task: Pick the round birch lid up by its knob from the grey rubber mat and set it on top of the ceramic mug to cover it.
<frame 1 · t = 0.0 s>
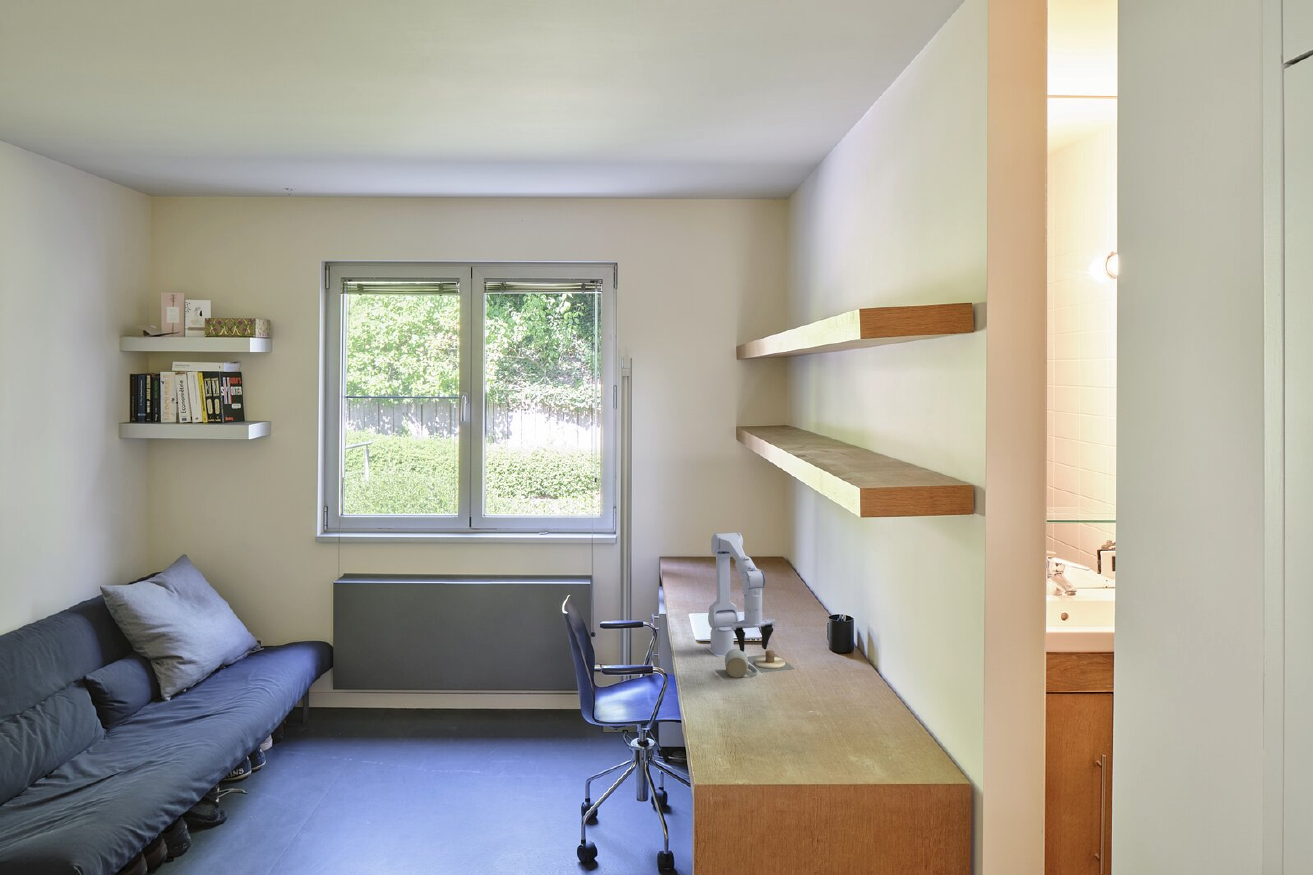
hand: (753, 649, 263), 10 cm above the table, tool pointing down, fingers open, 7 cm apart
lid: (769, 663, 278), resting on mat
mat: (768, 663, 279), on the table
ceramic mug: (740, 675, 269), on the table
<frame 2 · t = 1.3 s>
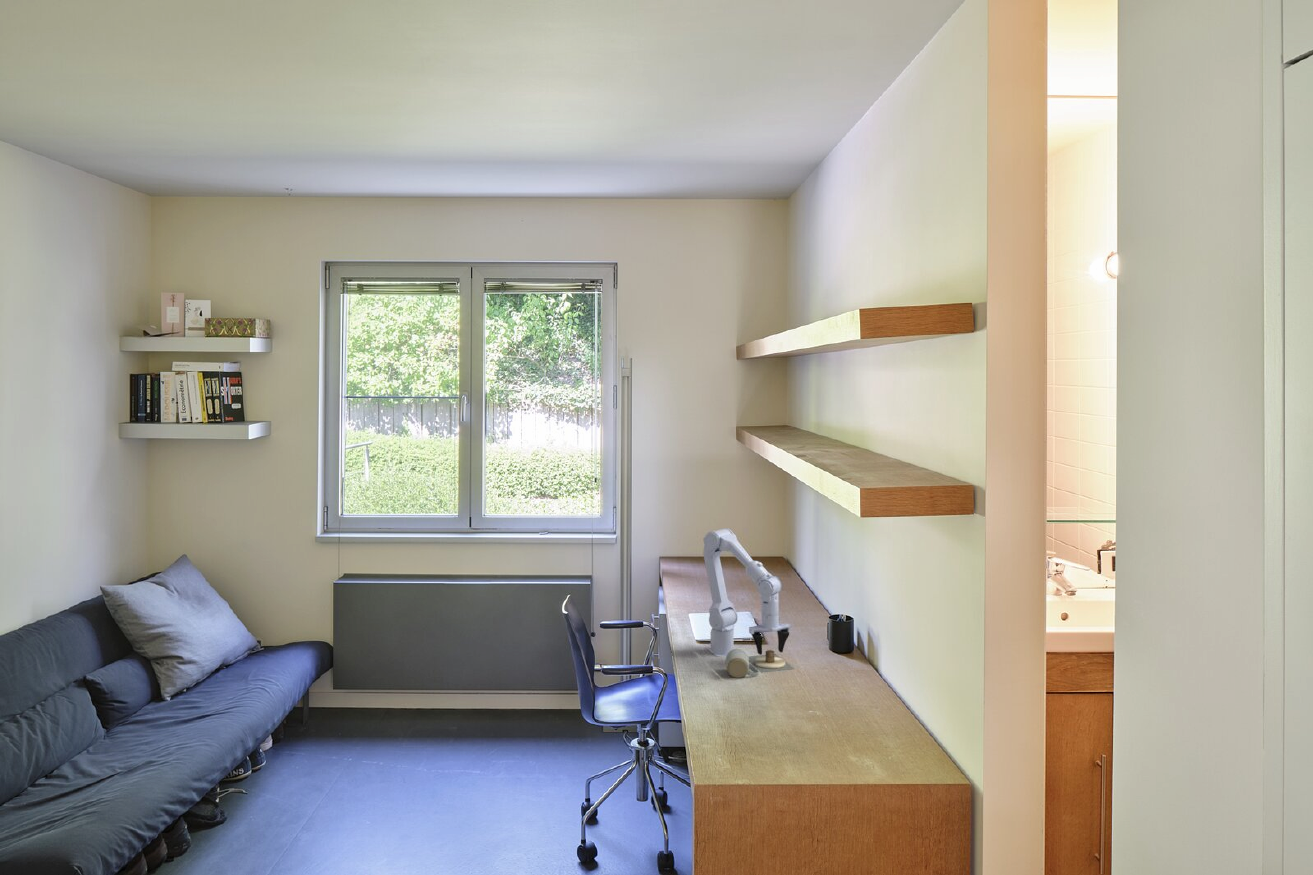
hand: (770, 652, 278), 4 cm above the table, tool pointing down, fingers open, 7 cm apart
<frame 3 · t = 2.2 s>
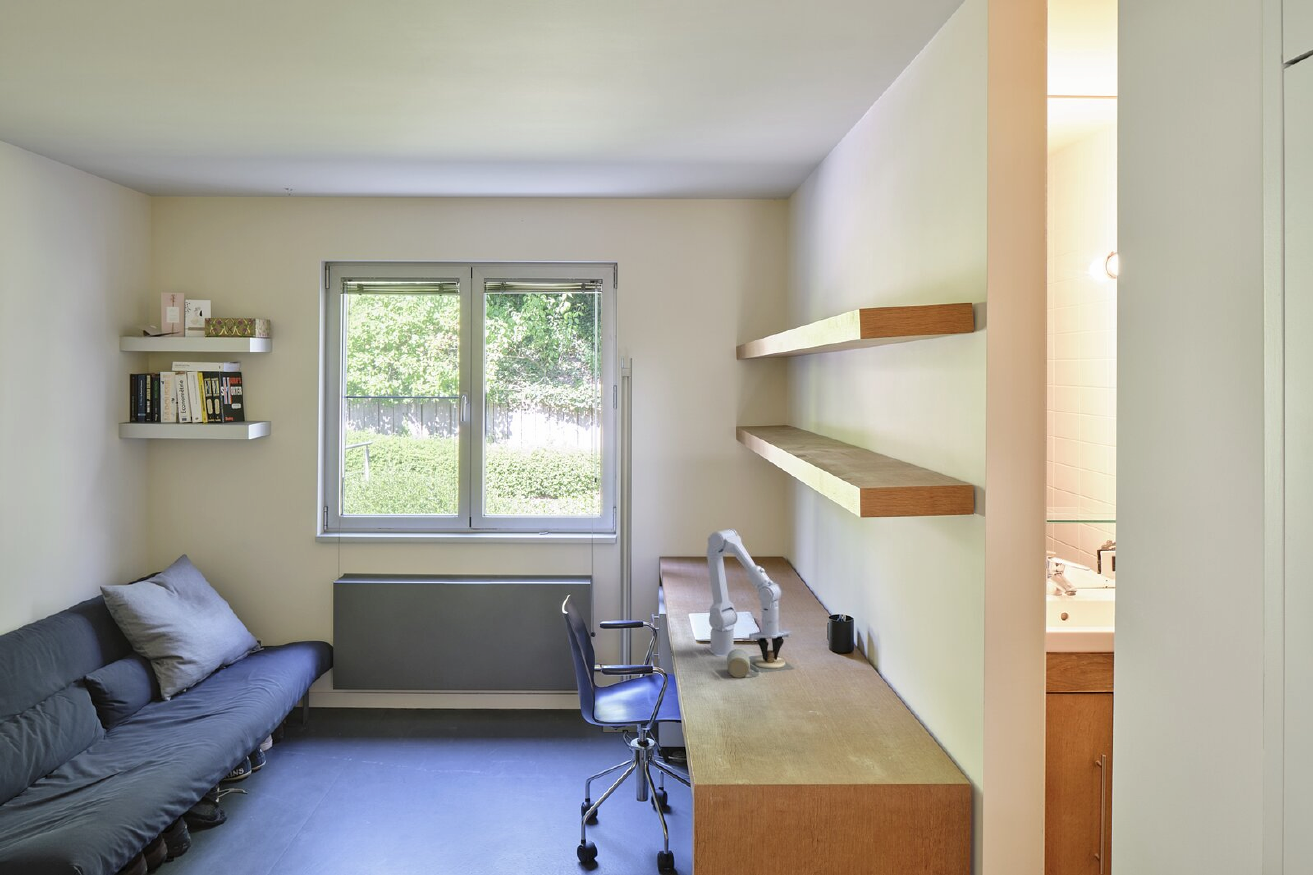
hand: (769, 659, 278), 2 cm above the table, tool pointing down, fingers closed on lid, 3 cm apart
lid: (769, 663, 278), resting on mat, touching gripper
everything else where it was.
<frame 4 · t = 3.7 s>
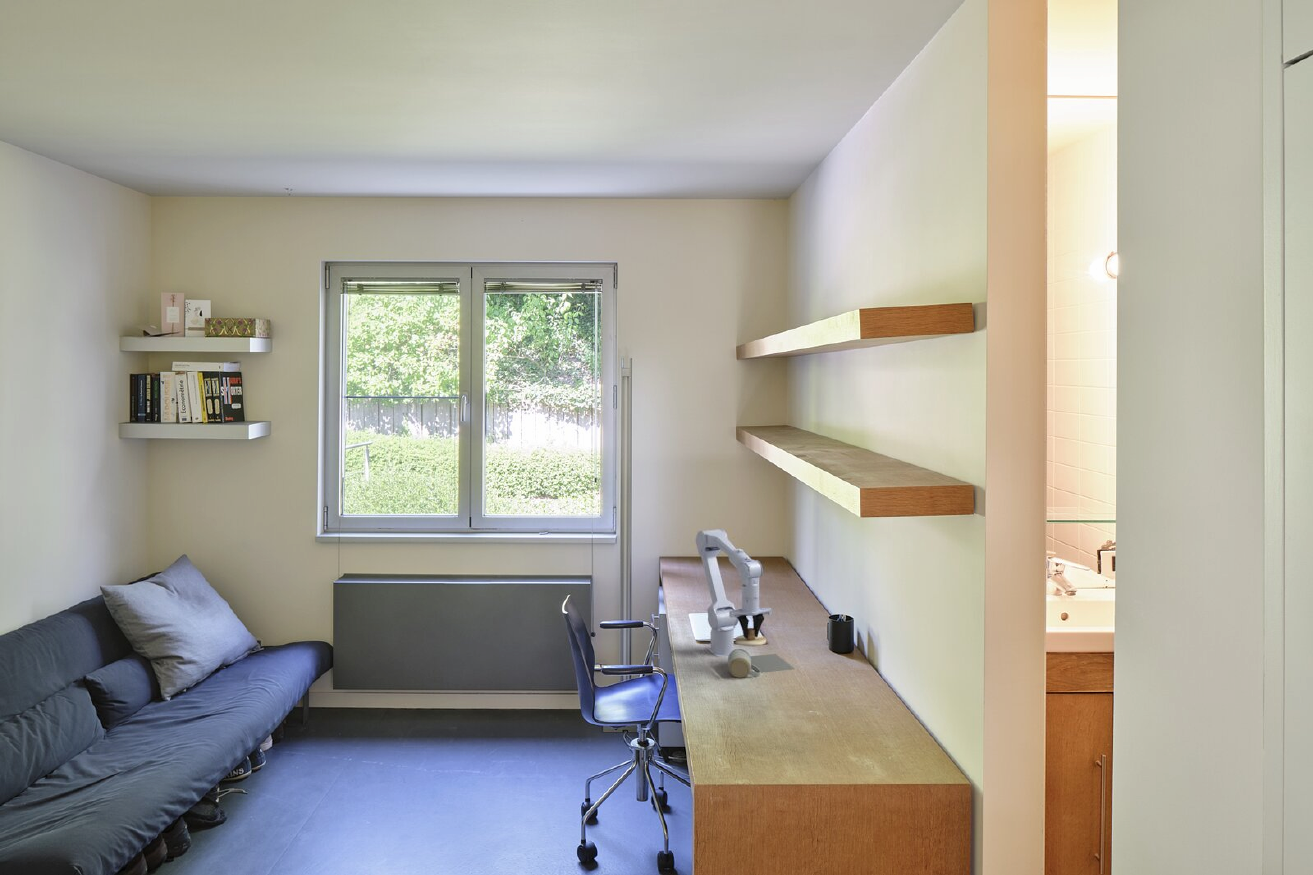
hand: (750, 636, 276), 10 cm above the table, tool pointing down, fingers closed on lid, 3 cm apart
lid: (750, 641, 276), point 9 cm above the table, touching gripper
when the fingers open (10 cm above the table, at t = 5.5 s): lid drops 1 cm, resting on ceramic mug.
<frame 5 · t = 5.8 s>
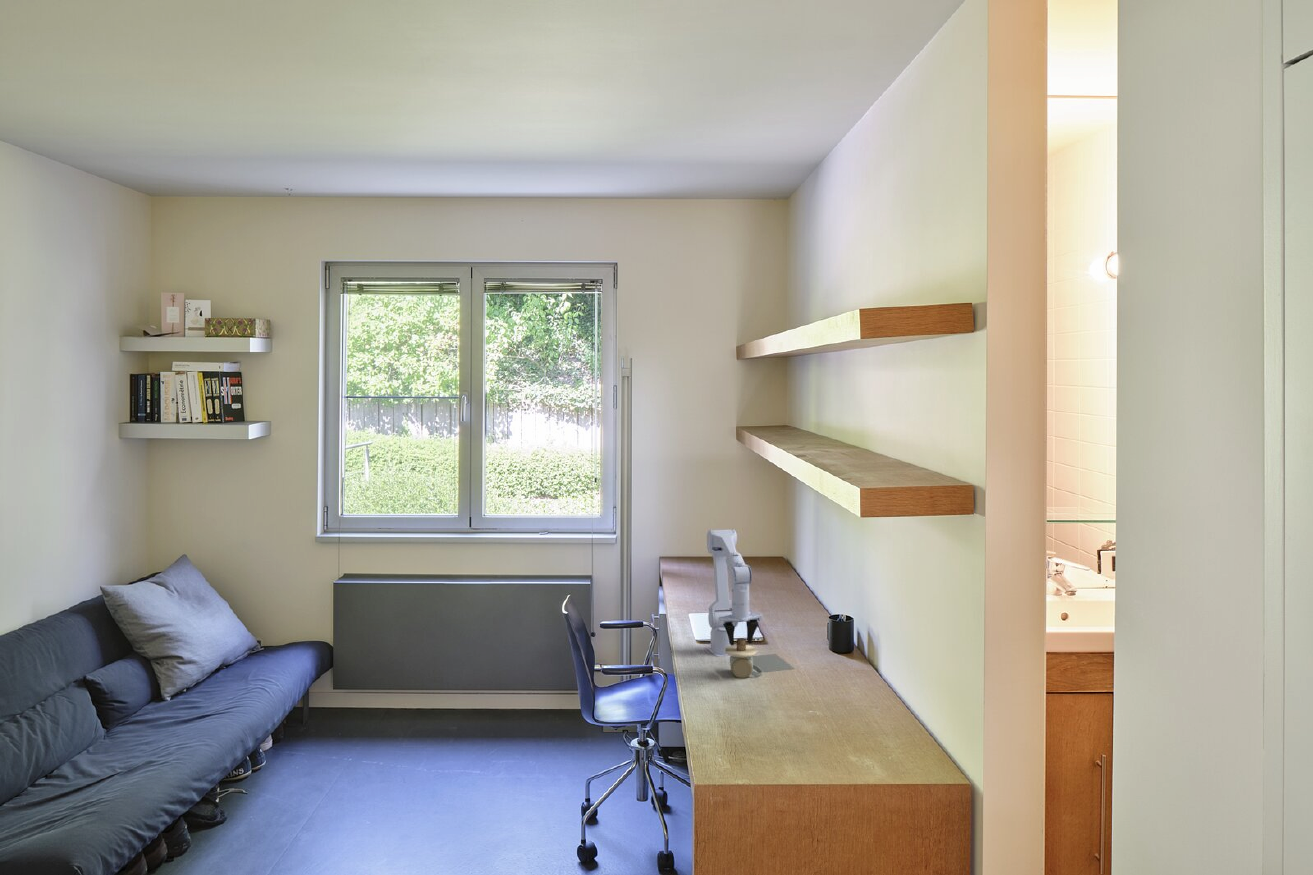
hand: (740, 643, 268), 10 cm above the table, tool pointing down, fingers open, 6 cm apart
lid: (741, 652, 268), point 8 cm above the table, touching ceramic mug
ceramic mug: (745, 675, 269), on the table, touching lid
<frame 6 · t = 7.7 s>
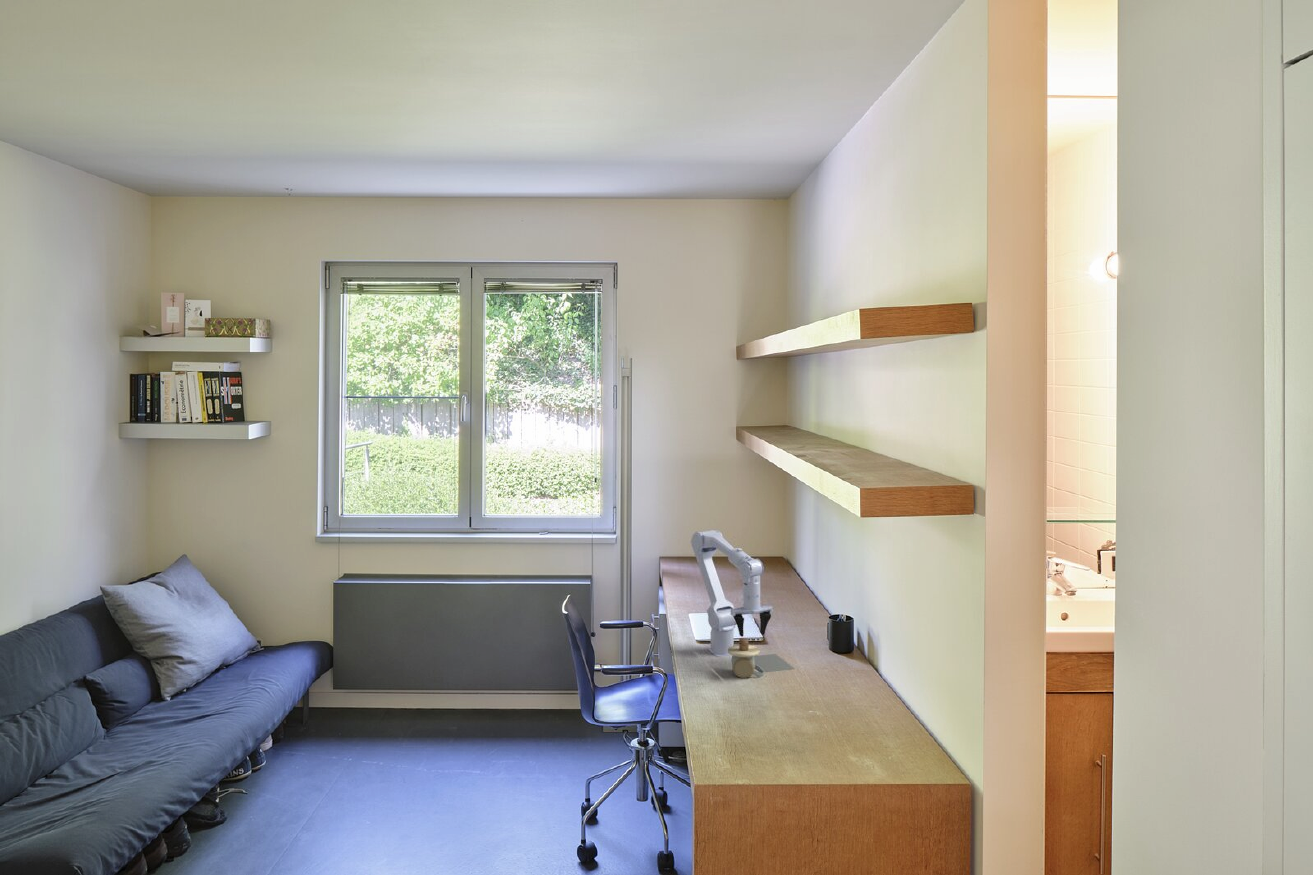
hand: (752, 634, 278), 10 cm above the table, tool pointing down, fingers open, 7 cm apart
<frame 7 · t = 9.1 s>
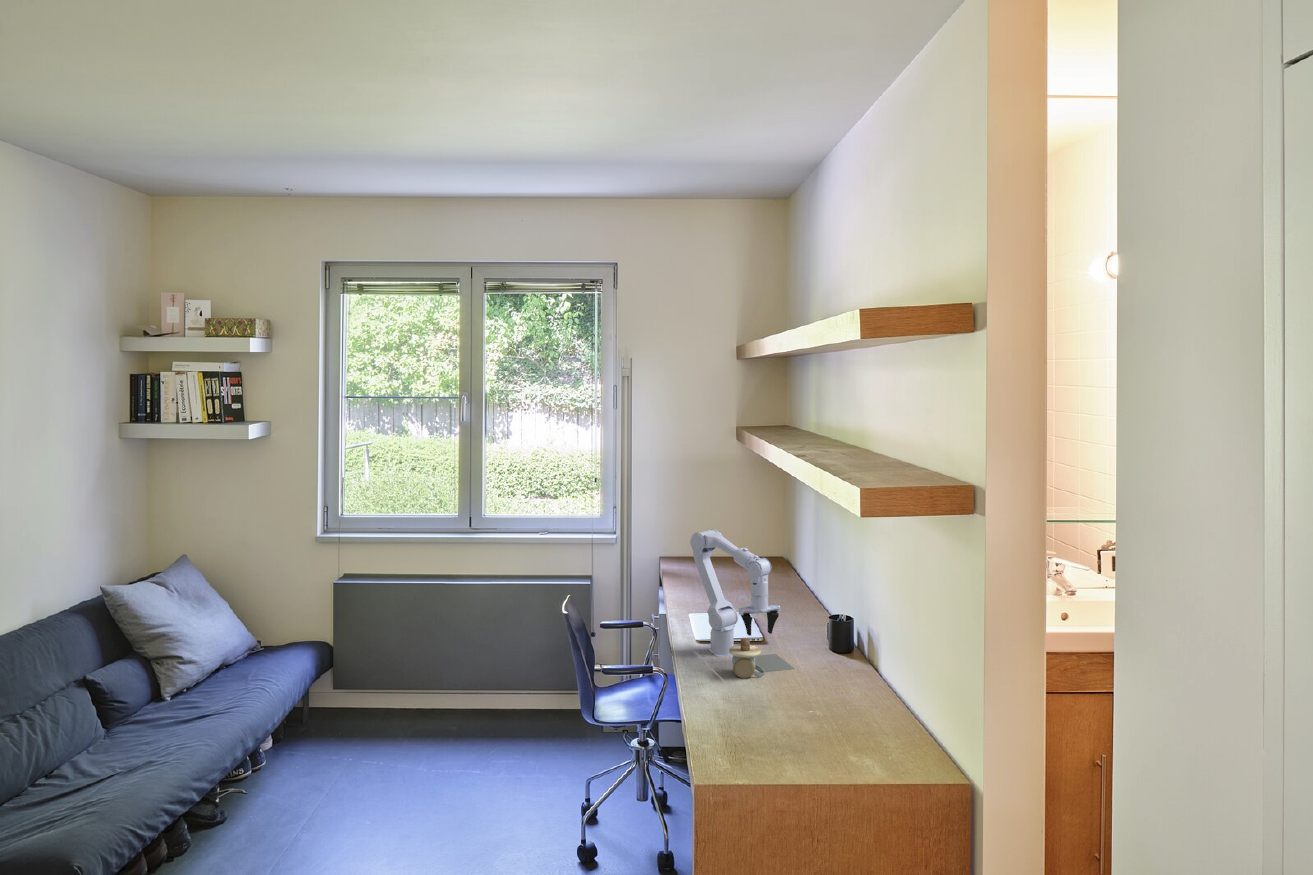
hand: (759, 633, 279), 10 cm above the table, tool pointing down, fingers open, 7 cm apart
at the end: lid 0.9 cm off-centre on the ceramic mug, point 7.9 cm above the ceramic mug's base; lid tilted 0°; the gripper is holding nothing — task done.
